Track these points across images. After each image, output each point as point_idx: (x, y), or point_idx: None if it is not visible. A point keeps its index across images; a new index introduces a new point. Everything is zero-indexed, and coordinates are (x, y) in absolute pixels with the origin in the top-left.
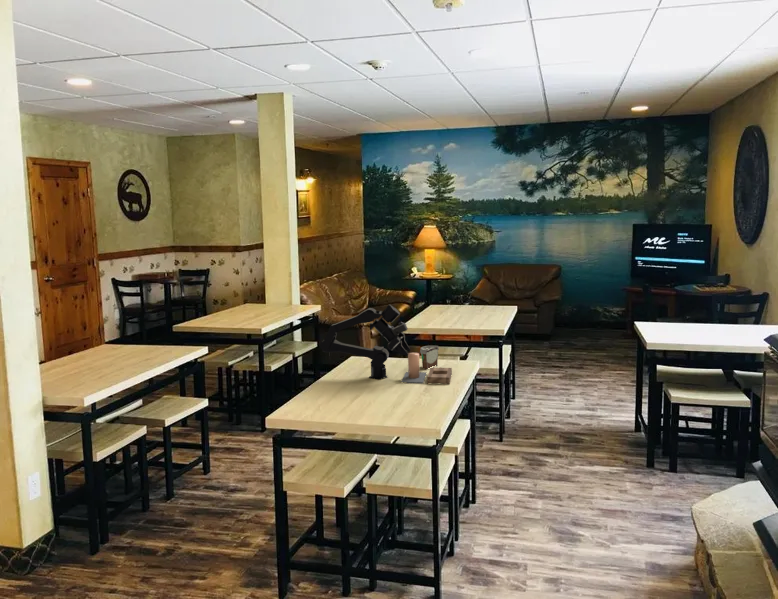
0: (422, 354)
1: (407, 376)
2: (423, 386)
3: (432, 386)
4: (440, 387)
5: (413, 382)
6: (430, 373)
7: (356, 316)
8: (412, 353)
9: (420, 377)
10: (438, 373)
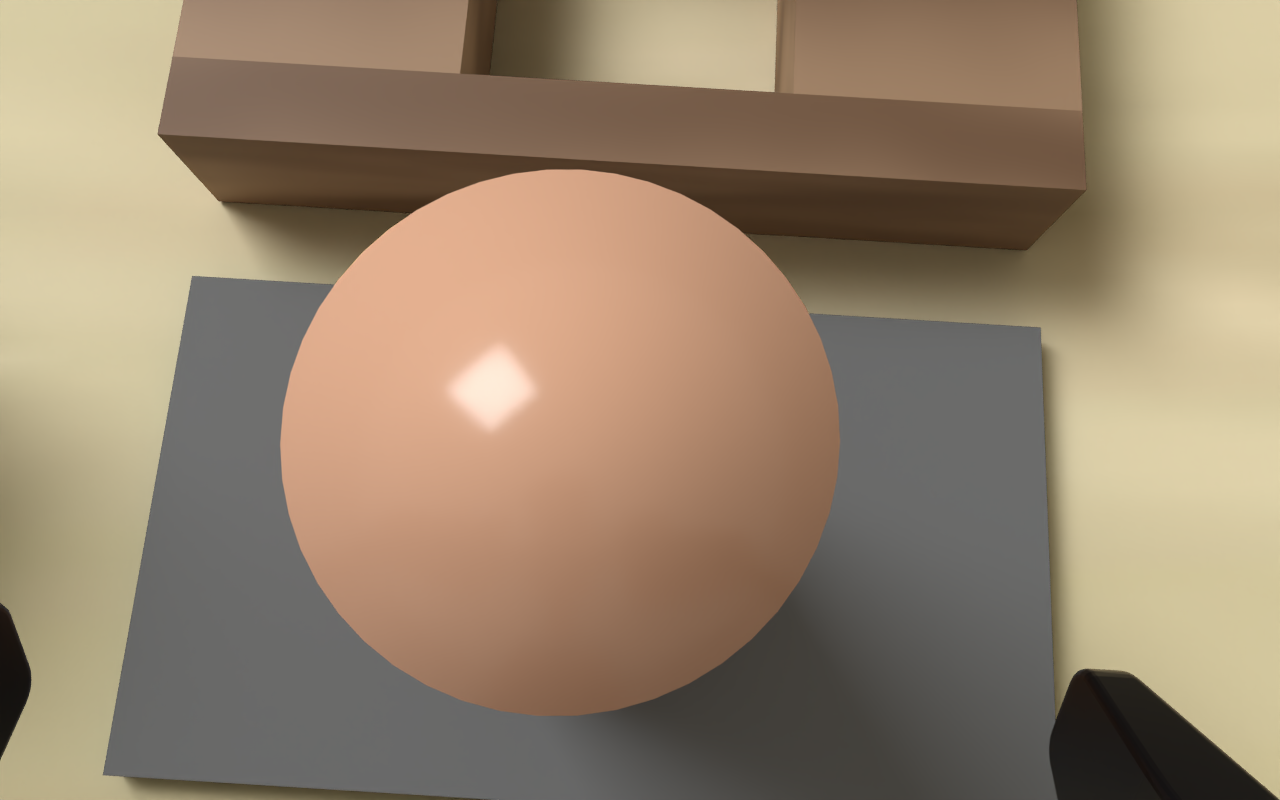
0: None
1: None
2: (1250, 322)
3: (1220, 156)
4: (1266, 20)
5: (1042, 535)
6: (743, 131)
7: None
8: (488, 485)
9: None
10: (483, 11)
